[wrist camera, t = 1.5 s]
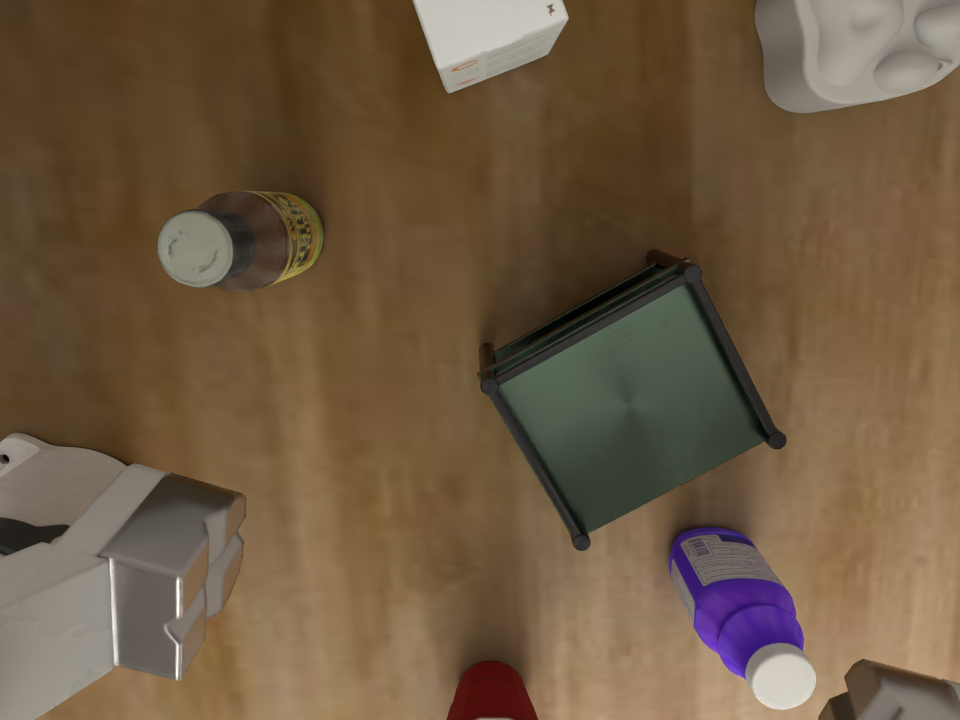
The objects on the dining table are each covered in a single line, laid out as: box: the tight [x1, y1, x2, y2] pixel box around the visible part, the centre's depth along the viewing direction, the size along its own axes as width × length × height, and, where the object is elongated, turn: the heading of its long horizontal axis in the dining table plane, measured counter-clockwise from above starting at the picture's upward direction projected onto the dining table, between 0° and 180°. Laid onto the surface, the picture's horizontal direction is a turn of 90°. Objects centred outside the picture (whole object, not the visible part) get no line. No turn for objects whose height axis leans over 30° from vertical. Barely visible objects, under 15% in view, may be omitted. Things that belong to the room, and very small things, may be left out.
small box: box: [413, 0, 569, 93], centre depth 50 cm, size 8×6×13 cm
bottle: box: [669, 527, 816, 709], centre depth 58 cm, size 7×6×17 cm
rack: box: [477, 249, 786, 551], centre depth 57 cm, size 16×14×11 cm
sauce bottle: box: [157, 191, 324, 292], centre depth 50 cm, size 6×6×20 cm
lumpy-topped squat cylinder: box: [754, 0, 960, 113], centre depth 53 cm, size 10×13×9 cm
